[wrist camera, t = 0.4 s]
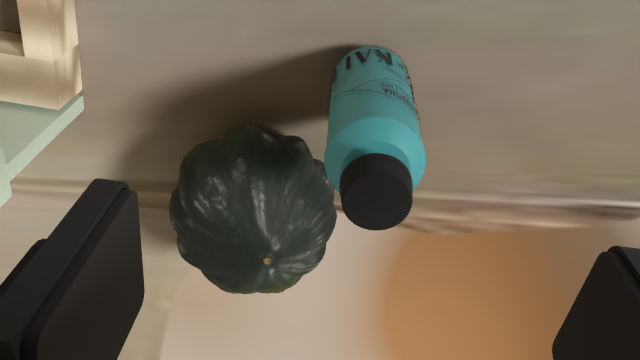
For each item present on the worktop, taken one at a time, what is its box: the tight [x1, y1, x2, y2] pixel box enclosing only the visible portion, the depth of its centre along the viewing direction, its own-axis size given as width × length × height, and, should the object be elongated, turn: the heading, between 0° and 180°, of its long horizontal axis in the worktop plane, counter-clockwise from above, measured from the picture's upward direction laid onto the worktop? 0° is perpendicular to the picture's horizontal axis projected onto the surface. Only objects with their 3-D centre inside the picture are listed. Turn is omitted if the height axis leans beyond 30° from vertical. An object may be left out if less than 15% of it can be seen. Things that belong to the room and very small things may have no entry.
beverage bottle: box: [324, 45, 426, 230], centre depth 37 cm, size 6×7×20 cm
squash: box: [169, 125, 337, 294], centre depth 46 cm, size 14×15×15 cm
